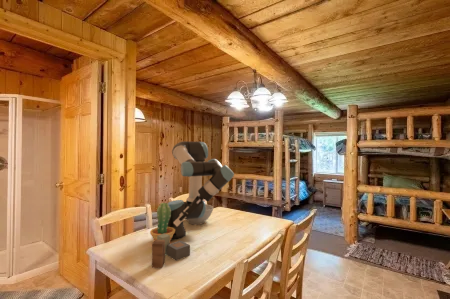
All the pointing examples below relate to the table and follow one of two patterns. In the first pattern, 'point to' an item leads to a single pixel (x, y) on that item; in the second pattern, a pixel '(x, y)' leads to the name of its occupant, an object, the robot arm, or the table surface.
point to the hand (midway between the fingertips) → (178, 220)
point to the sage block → (167, 240)
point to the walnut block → (158, 253)
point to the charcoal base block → (178, 250)
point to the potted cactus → (163, 222)
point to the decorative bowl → (202, 219)
